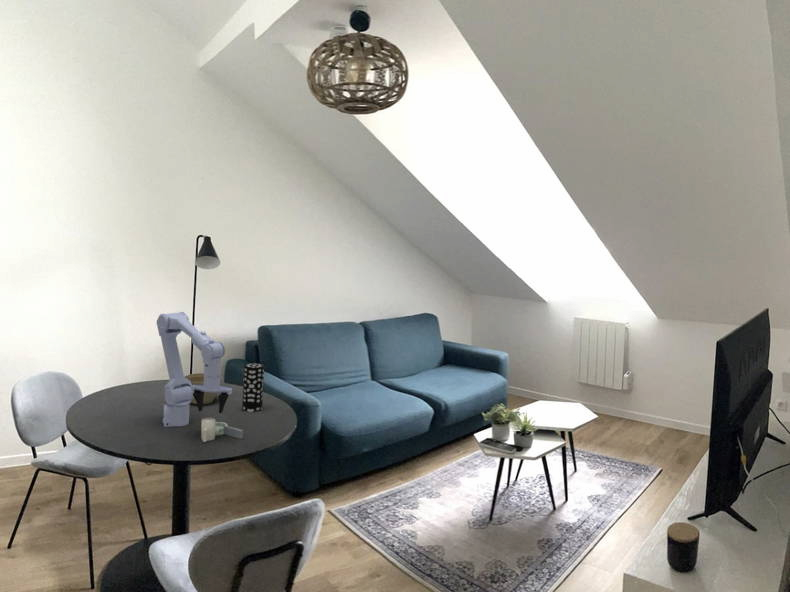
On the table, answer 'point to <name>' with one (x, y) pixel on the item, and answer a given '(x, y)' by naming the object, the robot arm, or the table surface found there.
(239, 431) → the turntable
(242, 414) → the table surface
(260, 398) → the spotted tube
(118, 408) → the table surface
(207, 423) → the cream round-ended cylinder
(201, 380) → the planter bowl
